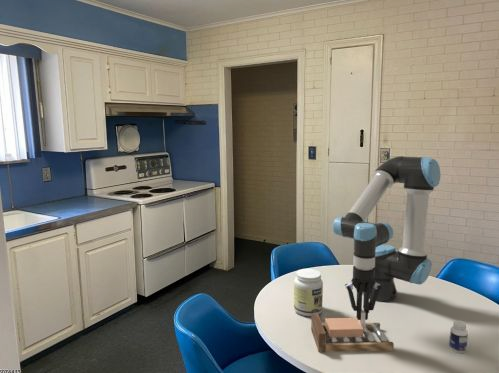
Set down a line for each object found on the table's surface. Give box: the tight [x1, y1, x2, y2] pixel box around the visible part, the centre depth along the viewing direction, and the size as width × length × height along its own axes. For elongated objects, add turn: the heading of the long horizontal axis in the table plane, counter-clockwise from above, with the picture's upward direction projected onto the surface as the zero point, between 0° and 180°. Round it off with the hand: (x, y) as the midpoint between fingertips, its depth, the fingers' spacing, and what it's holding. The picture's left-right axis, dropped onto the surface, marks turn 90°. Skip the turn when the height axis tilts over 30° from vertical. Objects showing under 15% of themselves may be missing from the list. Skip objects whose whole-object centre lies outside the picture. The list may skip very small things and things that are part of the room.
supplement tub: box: [293, 268, 324, 317], centre depth 162 cm, size 12×12×17 cm
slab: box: [324, 317, 364, 338], centre depth 140 cm, size 12×8×3 cm, turn 91°
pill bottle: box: [448, 320, 469, 354], centre depth 133 cm, size 5×5×10 cm
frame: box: [310, 313, 395, 353], centre depth 140 cm, size 26×14×7 cm, turn 91°
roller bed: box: [324, 322, 389, 343], centre depth 140 cm, size 11×20×2 cm, turn 91°
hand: (361, 327), depth 140 cm, fingers closed
